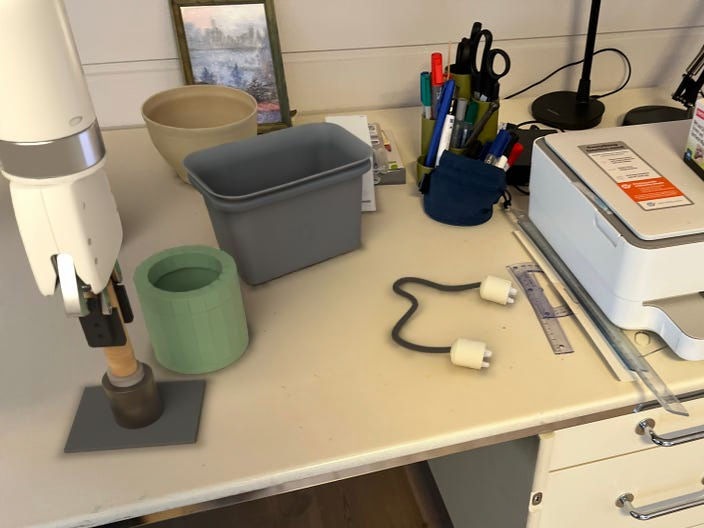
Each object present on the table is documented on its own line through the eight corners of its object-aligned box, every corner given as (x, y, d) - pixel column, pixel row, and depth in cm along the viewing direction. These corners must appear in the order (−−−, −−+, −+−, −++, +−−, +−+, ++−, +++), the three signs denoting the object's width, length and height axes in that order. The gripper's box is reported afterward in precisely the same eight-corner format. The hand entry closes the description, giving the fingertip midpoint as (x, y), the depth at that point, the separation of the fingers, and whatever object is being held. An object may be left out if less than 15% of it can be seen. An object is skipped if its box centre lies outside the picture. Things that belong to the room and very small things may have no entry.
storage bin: (239, 306, 91) (220, 200, 82) (187, 249, 100) (164, 147, 91) (386, 253, 102) (384, 154, 93) (328, 205, 111) (320, 111, 101)
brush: (110, 431, 74) (61, 299, 64) (119, 399, 77) (74, 269, 67) (159, 427, 75) (119, 297, 64) (166, 396, 78) (129, 267, 68)
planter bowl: (179, 209, 107) (163, 137, 100) (142, 164, 117) (125, 95, 110) (283, 183, 115) (275, 114, 108) (241, 143, 125) (231, 77, 118)
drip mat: (64, 453, 72) (63, 450, 72) (86, 389, 79) (84, 387, 78) (195, 443, 74) (194, 440, 74) (205, 382, 81) (204, 379, 80)
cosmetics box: (328, 179, 117) (323, 114, 110) (370, 178, 118) (368, 113, 111) (331, 213, 109) (326, 145, 102) (376, 211, 110) (374, 144, 103)
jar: (147, 377, 81) (124, 302, 74) (162, 319, 88) (142, 246, 82) (245, 371, 82) (231, 297, 76) (251, 315, 90) (239, 243, 83)
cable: (357, 352, 86) (355, 328, 84) (401, 276, 98) (400, 253, 96) (489, 379, 84) (491, 355, 81) (517, 298, 96) (520, 275, 94)
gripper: (27, 104, 63) (89, 285, 75) (-42, 198, 51) (45, 396, 63) (122, 103, 64) (168, 281, 76) (77, 195, 52) (140, 389, 64)
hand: (112, 331), depth 69 cm, fingers closed
